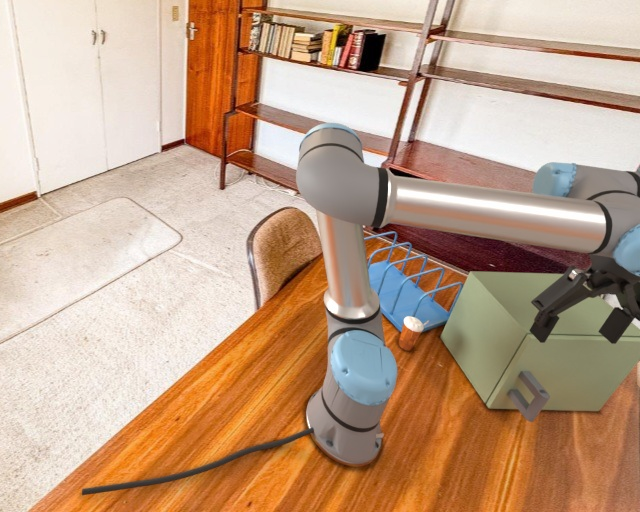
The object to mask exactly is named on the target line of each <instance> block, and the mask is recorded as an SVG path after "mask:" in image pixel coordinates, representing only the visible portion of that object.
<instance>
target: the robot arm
mask: <svg viewBox="0 0 640 512" xmlns="http://www.w3.org/2000/svg"><path fill="white" fill-rule="evenodd" d="M357 134H358V133H356V132H355V131H354V129H351V127H349V126H347V125H345V124H342V123H337V122H324V123H321V124H318V125H315V126H313V127H312V128H310V129H309V130H308V131H307V132H306V133H305V135H304V136H303V138H302V140H301V141H300V144H299V148H298V152H299V154H298V160H297V167H296V172H295V182H296V186H297V190H298V192H299V194H300V196H301V197H302V198H303V200H304V201H305V202H306V203H307V204H308V205H309V206H311V208H313V209H314V210H315V214H316V215H315V216H316V221H317V226H318V232H319V237H320V243H321V249H322V255H323V261H324V268H325V275H326V280H327V286H328V288H327V289H326V290H325V292H324V294H323V304H324V310H325V316H326V322H327V323H326V324H327V366H326V367H327V368H326V373H325V377H324V380H323V382H322V385H321V387H320V388H319V389H318V390H316V391H315V392H314V393H313V394H312V395H311V397H310V398H309V400H308V403H307V406H306V409H305V423H306V427H307V429H304V430H301V431H299V432H296V433H294V434H292V435H290V436H288V437H285V438H281V439H279V440H273V441H270V442H265V443H261V444H257V445H253V446H251V447H247V448H244V449H241V450H239V451H237V452H234V453H232V454H230V455H227V456H226V457H223V458H221V459H219V460H216V461H214V462H210V463H208V464H205V465H202V466H199V467H196V468H192V469H189V470H185V471H182V472H178V473H175V474H170V475H165V476H159V477H155V478H154V477H153V478H149V479H141V480H135V481H134V480H133V481H128V482H122V483H114V484H106V485H100V486H93V487H85V488H82V489H81V496H87V495H94V494H101V493H102V494H103V493H108V492H116V491H122V490H123V491H124V490H128V489H135V488H136V489H137V488H141V487H148V486H149V487H150V486H154V485H160V484H165V483H170V482H174V481H179V480H183V479H186V478H189V477H193V476H197V475H199V474H202V473H206V472H207V471H211V470H213V469H216V468H219V467H221V466H224V465H225V464H228V463H230V462H232V461H234V460H237V459H239V458H241V457H243V456H246V455H249V454H253V453H256V452H259V451H263V450H264V451H265V450H269V449H273V448H277V447H280V446H283V445H287V444H289V443H292V442H294V441H297V440H300V439H301V438H304V437H306V436H308V435H310V437H311V439H312V441H313V442H314V444H315V445H316V446H317V447H318V448H319V449H320V451H321V452H322V453H323V454H324V455H326V456H327V457H328V458H329V459H331V460H333V461H334V462H336V463H338V464H340V465H343V466H346V467H351V468H361V467H365V466H368V465H370V464H371V463H372V462H374V460H375V459H376V458H377V456H378V455H379V453H380V450H381V447H382V440H383V438H384V436H385V432H384V433H383V432H382V427H381V426H382V425H381V419H382V416H383V415H384V412H385V410H386V407H387V406H388V402H389V401H390V398H391V396H392V394H393V393H394V390H395V389H396V384H397V378H398V365H397V361H396V358H395V356H394V354H393V352H392V351H391V349H390V347H388V346H387V345H386V341H385V340H386V339H385V334H384V333H385V331H384V326H383V325H384V324H383V313H382V312H381V308H380V300H379V297H378V294H377V293H376V292H375V290H374V289H372V288H371V287H370V280H369V272H368V256H367V247H366V240H364V238H365V232H364V227H370V228H377V229H382V228H384V227H386V225H389V224H392V225H398V226H399V225H400V226H406V227H413V228H419V229H424V230H425V229H426V230H432V231H437V232H443V233H444V232H445V233H452V234H458V235H463V236H464V235H465V236H471V237H478V238H484V239H490V240H496V241H504V242H509V243H517V244H523V245H529V246H535V247H536V246H537V247H542V248H550V249H554V250H555V249H556V250H562V251H568V252H575V253H580V254H588V256H589V260H590V265H589V266H588V267H587V268H585V269H579V268H578V267H576V266H575V265H570V266H569V267H568V268H567V269H566V271H565V272H564V273H563V274H564V275H563V276H562V277H560V278H559V279H558V280H557V281H555V282H554V283H553V284H552V285H550V286H549V287H548V288H547V289H546V290H544V291H543V292H542V293H541V294H539V295H538V296H537V297H536V298H534V299H533V300H532V301H531V303H532V304H533V305H534V306H535V307H536V308H537V309H538V310H539V312H538V313H537V315H536V317H535V319H534V323H533V325H532V327H531V328H530V330H529V331H530V332H531V333H532V334H533V335H534V336H535V337H536V338H537V339H538V340H539V341H540V343H545V341H546V340H547V338H548V336H549V335H550V333H551V331H552V330H553V328H554V327H555V325H556V323H557V322H558V320H559V317H558V316H557V315H558V314H560V313H561V312H563V311H565V310H567V309H569V308H570V307H572V306H574V305H576V304H578V303H579V302H581V301H583V300H585V299H586V298H588V297H590V298H595V297H597V296H600V295H612V296H615V297H616V299H617V301H618V304H619V306H620V307H619V306H614V307H613V308H614V309H613V311H612V312H611V314H610V315H609V316H608V318H607V319H606V321H605V322H604V324H603V325H602V327H601V328H600V330H599V331H598V332H599V333H600V334H602V335H603V336H604V337H605V338H606V339H607V340H608V341H609V342H611V343H612V344H616V343H617V341H618V340H619V339H620V337H621V336H622V334H623V333H624V332H625V330H626V329H627V328H628V326H629V325H630V324H631V322H632V323H633V321H634V320H637V321H638V322H640V167H637V169H636V171H630V170H618V169H611V168H605V167H599V166H598V167H597V166H593V165H592V166H590V165H585V164H578V163H576V162H572V163H570V162H569V163H568V162H557V161H551V162H547V163H545V164H543V165H541V166H540V167H539V169H538V170H537V171H536V173H535V174H534V177H533V180H532V192H526V191H519V190H518V191H517V190H510V189H502V188H494V187H486V186H480V185H479V186H478V185H472V184H471V185H470V184H462V183H454V182H449V181H447V182H446V181H439V180H431V179H423V178H415V177H408V176H399V175H395V174H394V173H392V172H391V170H390V169H389V168H386V167H379V166H372V165H370V164H366V163H365V158H364V153H363V149H364V147H363V144H362V141H361V138H359V136H358V135H357ZM583 284H585V285H586V286H587V287H588V288H590V289H591V290H589V289H588V288H586V287H585V286H584V285H583ZM553 308H554V309H553Z"/></svg>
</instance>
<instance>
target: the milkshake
mask: <svg viewBox="0 0 640 512" xmlns="http://www.w3.org/2000/svg"><path fill="white" fill-rule="evenodd" d="M428 322H429V320H428V321H427V322H426V323H424V324H422V323H421V321H420V320H418V319H417V318H415V317H410V316H408V317H406V318H405V319H404V322H403V326H402V331H401V332H400V335H399V339H398V345H399V347H400V348H401V349H403V350H404V351H411V350H413V348H414V346H415V344H416V342H417V341H418V339H419V337H420V335H421V334H422V333H423V332H422V331H423V329H424V325H426V324H427V323H428Z"/></svg>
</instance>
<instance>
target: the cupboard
mask: <svg viewBox="0 0 640 512" xmlns="http://www.w3.org/2000/svg"><path fill="white" fill-rule="evenodd" d="M563 275H564V273H547V272H546V273H545V272H544V273H543V272H542V273H541V272H510V271H509V272H508V271H507V272H506V271H477V270H476V271H475V270H474V271H473V270H470V271H469V273H468V275H467V277H466V280H465V281H464V283H463V285H464V286H463V288H462V290H461V293H460V295H459V297H458V299H457V301H456V303H455V306H454V308H453V310H452V312H451V314H450V317H449V319H448V321H447V323H446V324H444V325H445V326H444V328H443V330H442V332H441V334H440V339H441V341H442V343H443V344H444V346H445V347H446V349H447V350H448V351H449V353H450V355H451V356H452V357H453V359H454V360H455V361H456V364H458V366H459V367H460V369H461V370H462V372H463V373H464V375H465V376H466V378H467V379H468V381H469V382H470V384H471V385H472V387H473V388H474V390H475V391H476V393H477V394H478V396H479V397H480V398H481V400H482V402H483V403H484V404H486V403H487V402H488V400H489V398H490V397H491V395H492V393H493V392H494V390H495V388H496V387H497V385H498V383H499V382H500V380H501V378H502V376H503V375H504V373H505V371H506V370H507V368H508V366H509V365H510V363H511V361H512V360H513V358H514V356H515V355H516V353H517V351H518V349H519V348H520V346H521V344H522V343H523V341H524V339H525V338H526V336H527V334H531V335H533V334H532V333H531V332H530V331H529V330H530V328H531V327H532V325H533V323H534V319H535V317H536V315H537V313H538V312H539V310H538V309H537V308H536V307H535V306H534V305H533V304H532V303H531V301H532V300H533V299H534V298H536V297H537V296H538V295H539V294H541V293H542V292H543V291H544V290H546V289H547V288H548V287H549V286H550V285H552V284H553V283H554V282H555V281H557V280H558V279H559V278H560V277H562V276H563ZM583 285H584V286H585V287H586V288H588V289H589V290H592V289H591V288H589V287H588V286H587V284H583ZM614 308H615V307H613V306H612V305H611V304H610V303H608V302H607V301H606V300H604V299H603V298H602V297H601V296H600V295H598V296H597V297H595V298H590V297H588V298H586V299H585V300H583V301H581V302H579V303H578V304H576V305H574V306H572V307H570V308H569V309H567V310H565V311H563V312H561V313H560V314H558V315H557V316H558V317H559V320H558V322H557V323H556V325H555V327H554V328H553V330H552V331H551V333H550V335H568V336H603V335H602V334H600V333H599V332H598V331H599V330H600V328H601V327H602V325H603V324H604V322H605V321H606V319H607V318H608V316H609V315H610V314H611V312H612V311H613V309H614ZM553 309H554V308H553ZM621 337H640V328H639V327H638V326H637V325H635V324H634V323H633V321H632V322H631V324H630V325H629V326H628V328H627V329H626V330H625V332H624V333H623V334H622V336H621Z"/></svg>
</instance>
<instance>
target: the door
mask: <svg viewBox="0 0 640 512" xmlns="http://www.w3.org/2000/svg"><path fill="white" fill-rule="evenodd" d="M639 362H640V337H620V339H619V340H618V341H617V343H616V344H612V343H611V342H609V341H608V340H607V339H606V338H605V337H604V336H568V335H549V336H548V338H547V340H546V341H545V343H540V341H539V340H538V339H537V338H536V337H535V336H534V335H531V334H527V336H526V338H525V339H524V341H523V343H522V344H521V346H520V348H519V349H518V351H517V353H516V355H515V356H514V358H513V360H512V361H511V363H510V365H509V366H508V368H507V370H506V371H505V373H504V375H503V376H502V378H501V380H500V382H499V383H498V385H497V387H496V388H495V390H494V392H493V393H492V395H491V397H490V398H489V400H488V402H487V403H485V405H486V407H487V409H489V410H490V409H491V410H493V409H494V410H518V411H519V412H520V414H521V415H522V417H523V418H524V419H525V421H527V422H529V423H533V422H535V420H536V419H537V417H538V416H539V414H540V413H541V412H542V411H565V412H566V411H568V412H569V411H571V412H600V410H601V409H602V408H603V407H604V405H605V404H606V403H607V402H608V400H609V399H610V398H611V397H612V396H613V394H614V393H615V392H616V390H618V388H619V387H620V386H621V384H622V383H623V382H624V380H626V378H627V377H628V376H629V374H630V373H631V372H632V371H633V369H634V368H635V367H636V366H637V364H638V363H639Z"/></svg>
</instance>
